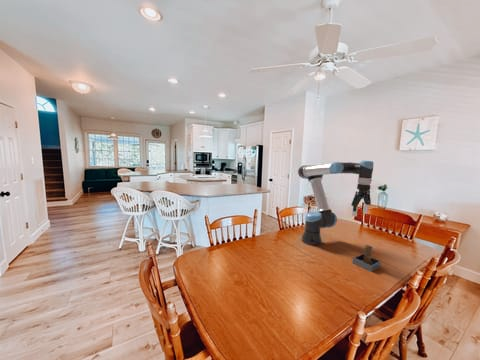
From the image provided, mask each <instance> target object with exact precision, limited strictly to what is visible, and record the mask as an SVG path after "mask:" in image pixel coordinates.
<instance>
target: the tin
mask: <svg viewBox="0 0 480 360" xmlns="http://www.w3.org/2000/svg"><path fill="white" fill-rule="evenodd" d="M364 254H365V253H361V254H358V255H356V256H354V257H352V264H354V265H356V266H358V267H360V268H363V269H365V270H366V271H369V272H371V273H372V272H374V271H376V270H378V269H379V268H381V267H382V260H379V259H377V258H374V257H372V256H371V260H370V264H368V263H366V262H364Z"/></svg>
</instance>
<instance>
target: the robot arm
mask: <svg viewBox="0 0 480 360" xmlns="http://www.w3.org/2000/svg"><path fill="white" fill-rule="evenodd" d="M373 173H374V161H372V160H361V161H360V163H359V162H340V161H335V162H332V163H325V164H318V165H314V164H313V165H306V164H305V165H301V166H300V167H299V168H298V170H297V174H298V176H299V177H300V178H301V179H306V180H308V181H307V182H308V183H310V184H311V189H312V192H313V197H314V199H315V203H316V207H317V211H309V212H307V213H306V215H305V223H304V224H305V225H304V232H303V234H302V236H301V242H303V243H304V244H306V245H311V246H320V245H322V242H323V241H322V240H323V239H322V235H321V229H326V228H328V229H329V228H332V227H335V226H336V224H337V222H338V217H337V215H336V214H335V212H333V211H332V209H331V208H329V204H328V201H327V197H326V193H325V189H324V186H323V183H322V180H323V177H324V175H336V174H354V175H358V179H357V187H356V189H357V191H355V194H354V197H353V199H352V202H351V206H352V213H351V216H352V217H357V216H358V210H359V207H358V206H359V204H360V202H361V201H362V200H363V201H364V204H363V209H362V214H365V215H368V212H369V206H370V205H371V203H372V201H371V200H372V199H371V187H372V185H371V184H372V181H373V180H372V178H373Z"/></svg>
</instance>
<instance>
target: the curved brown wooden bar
mask: <svg viewBox="0 0 480 360" xmlns="http://www.w3.org/2000/svg"><path fill="white" fill-rule="evenodd" d="M364 247H365V248H364V253H363V254H364V262H366V263H368V264H370V260H371V257H372V250H373V246H371V245H369V244H365V246H364Z"/></svg>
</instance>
